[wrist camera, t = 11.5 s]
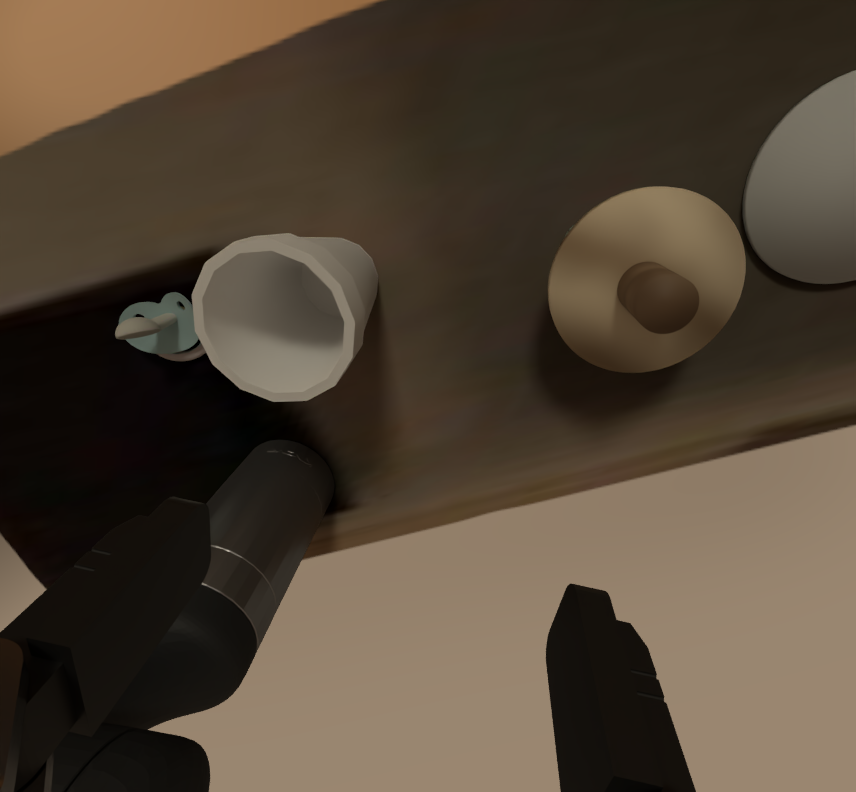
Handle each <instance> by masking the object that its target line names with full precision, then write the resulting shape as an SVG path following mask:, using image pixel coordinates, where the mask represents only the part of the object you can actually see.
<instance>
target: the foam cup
mask: <svg viewBox="0 0 856 792" xmlns="http://www.w3.org/2000/svg"><path fill="white" fill-rule="evenodd" d="M377 286H378V274H377V271H376V268H375V265H374V263H373V260H372V258H371V257H370V256H369V255H368V254H367V253H366V252H365V251H364V250H363V249H362V247H361V246H360V245H358V244H355V243H353V242H351V241H348V240H346V239H343V238H324V237H297V236H295V235H292V234H290V233H286V234H275V235H263V236H253V237H249V238H246V239H242V240H239V241H235V242H233V243H231V244H230V245H229V246H227V247H226V248H224V249H223V250H222V251H220V252H219V253H218V254H216V255H215V256H213V257H212V258H211V259H209V260H208V261H206V262H205V264H204V266H203V269H202V271H201V274H200V276H199V278H198V281H197V283H196V286H195V288H194V290H193V293H192V304H193V315H194V327H195V332H196V334H197V336H198V338H199V340H200V341H201V343H202V345H203V347H204V349H205V351H206V353H207V355H208V357H209V359H210V360H211V362H212V364H213V365H214V366H215V367H216V368H217V369H219V370H220V371H221V372H222V373H223V374H224V375H225V376H226V377H228V378H229V379H230V380H231V381H232V382H233V383H234V384H235V385H237V386H238V387H239V388H240V389H242V390H244V391H247V392H250V393H252V394H255V395H257V396H260V397H263V398H265V399H268V400H270V401H273V402H284V401H308V400H310V399H311V398H313V397H315V396H317V395H319V394H321V393H323V392H324V391H326V390H328V389H330V388H332V387H334V386H335V385H336V384H337V382H338V381H339V380H340V378H341V377H342V376H343V374H344V373H345V372H346V370H347V369H348V367H349V365H350V364H351V362H352V361H353V359H354V358H355V356H356V354H357V353H358V351H359V350H360V348H361V347H362V345H363V335H364V330H365V327H366V324H367V321H368V318H369V315H370V313H371V310H372V307H373V304H374V301H375V298H376V294H377Z"/></svg>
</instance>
